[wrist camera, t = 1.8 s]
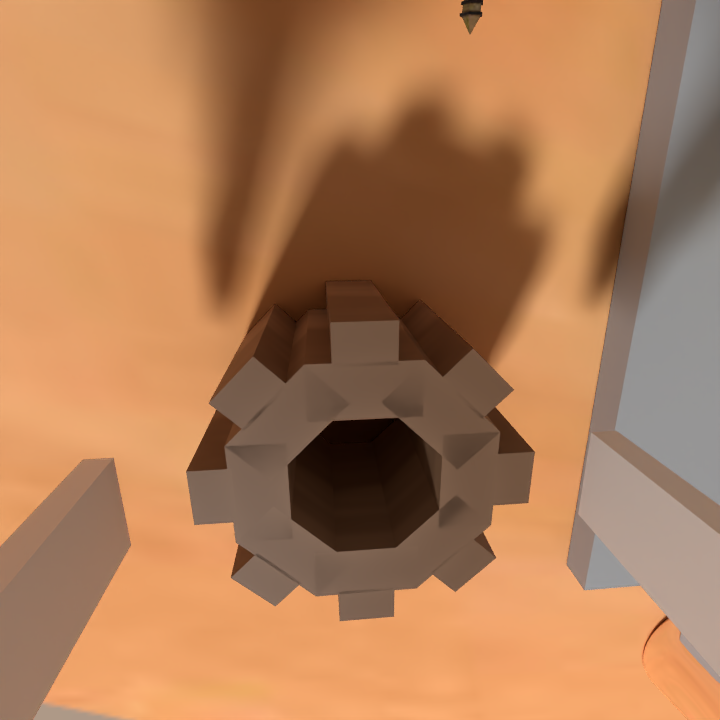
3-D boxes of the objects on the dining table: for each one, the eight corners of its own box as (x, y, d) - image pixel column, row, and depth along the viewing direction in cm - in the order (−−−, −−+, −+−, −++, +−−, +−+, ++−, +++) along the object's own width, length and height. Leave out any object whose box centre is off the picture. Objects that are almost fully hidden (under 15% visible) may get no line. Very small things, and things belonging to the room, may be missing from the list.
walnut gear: (218, 283, 16) (164, 327, 10) (471, 277, 17) (552, 315, 11) (242, 503, 19) (210, 632, 13) (457, 489, 19) (515, 606, 14)
